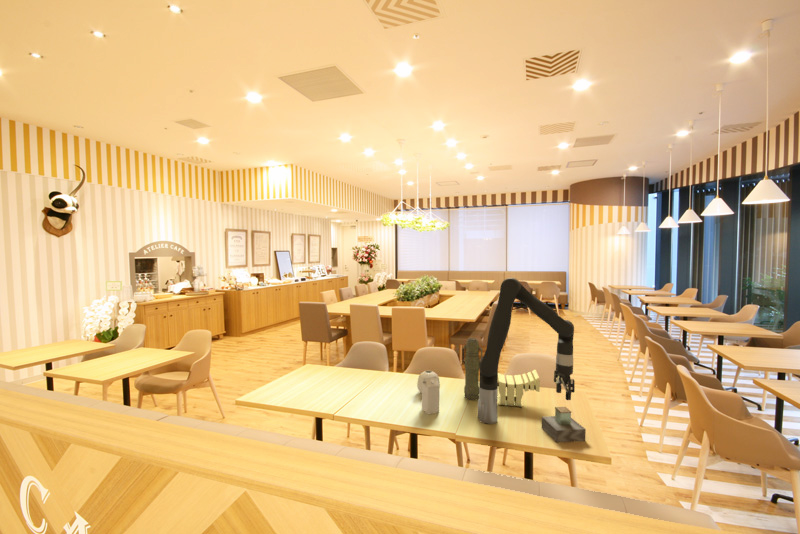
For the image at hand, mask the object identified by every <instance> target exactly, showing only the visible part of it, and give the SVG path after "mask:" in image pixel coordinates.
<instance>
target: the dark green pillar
mask: <svg viewBox="0 0 800 534" xmlns="http://www.w3.org/2000/svg"><path fill="white" fill-rule="evenodd" d="M479 350H480V351H479ZM465 352H466V353H465ZM461 353H462V355H461V356H462V361H461V362H462V364H464V369H465V370H464V371H465V372H464V373H465V374H464V376H465V379H464V380H465V383H464V388H463V391H464V392H463V393H464V396H465V397H464V398H465V399H466V398H467V400H471V401H475V400H476V399H477V400H479V399H478V398H479V378H480V360H481V358H482V357H483V348H482V347H480V343H479V340H478V339H476V338H468V339H466V343H465V346H463V347H462V349H461ZM479 353H480V355H479Z"/></svg>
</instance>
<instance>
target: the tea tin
mask: <svg viewBox="0 0 800 534" xmlns="http://www.w3.org/2000/svg"><path fill="white" fill-rule="evenodd" d="M554 409H555V410H554V411H555V414H554V416H555V421H557V422H558V423H559V424H560V425H571V418H572V410H570V409H569V408H567V407H566V406H554Z"/></svg>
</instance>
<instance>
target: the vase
mask: <svg viewBox="0 0 800 534" xmlns="http://www.w3.org/2000/svg"><path fill="white" fill-rule="evenodd" d="M431 376H436V378H437V380H438V383H439V389H440V387H441V384H440V377H439V375H438V374H437V373H436V372H435V371H432V370H430V369H429V370H424V371H423V372H421V373H420V374H419V375H418V378H417V383H416V385H417V386H416V387H417V390H418V392H419V393H421V394H422V382H423V381H424V380H425V377H431Z"/></svg>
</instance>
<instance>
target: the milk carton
mask: <svg viewBox="0 0 800 534" xmlns="http://www.w3.org/2000/svg"><path fill="white" fill-rule="evenodd" d="M421 410H422V411H424V412H425V413H426V414H427V415H430V414H431V415H432V414H437V413H439V412H440V388H439V383H438V380H437V378H436V376H431V377H425V380H424V381H423V382H422V393H421Z"/></svg>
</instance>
